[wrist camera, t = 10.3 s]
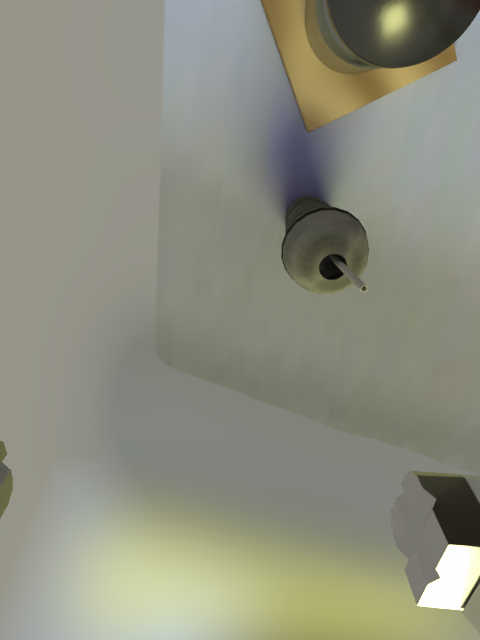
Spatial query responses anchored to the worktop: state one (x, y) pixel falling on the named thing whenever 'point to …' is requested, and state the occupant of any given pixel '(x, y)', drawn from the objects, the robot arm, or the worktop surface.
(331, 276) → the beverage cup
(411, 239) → the worktop surface
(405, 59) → the press
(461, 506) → the robot arm
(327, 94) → the plate
